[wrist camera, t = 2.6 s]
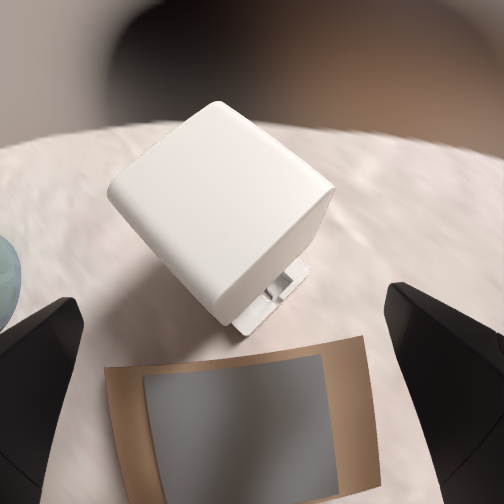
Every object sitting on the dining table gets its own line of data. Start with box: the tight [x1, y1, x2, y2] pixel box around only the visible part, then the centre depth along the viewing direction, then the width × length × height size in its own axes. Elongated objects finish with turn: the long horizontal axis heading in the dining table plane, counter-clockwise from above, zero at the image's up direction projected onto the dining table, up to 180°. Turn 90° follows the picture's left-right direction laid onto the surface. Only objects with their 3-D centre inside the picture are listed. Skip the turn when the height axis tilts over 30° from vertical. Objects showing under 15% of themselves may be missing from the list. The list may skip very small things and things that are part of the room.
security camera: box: [107, 101, 335, 337], centre depth 16 cm, size 6×7×10 cm
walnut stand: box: [104, 335, 381, 504], centre depth 16 cm, size 14×9×4 cm, turn 98°
